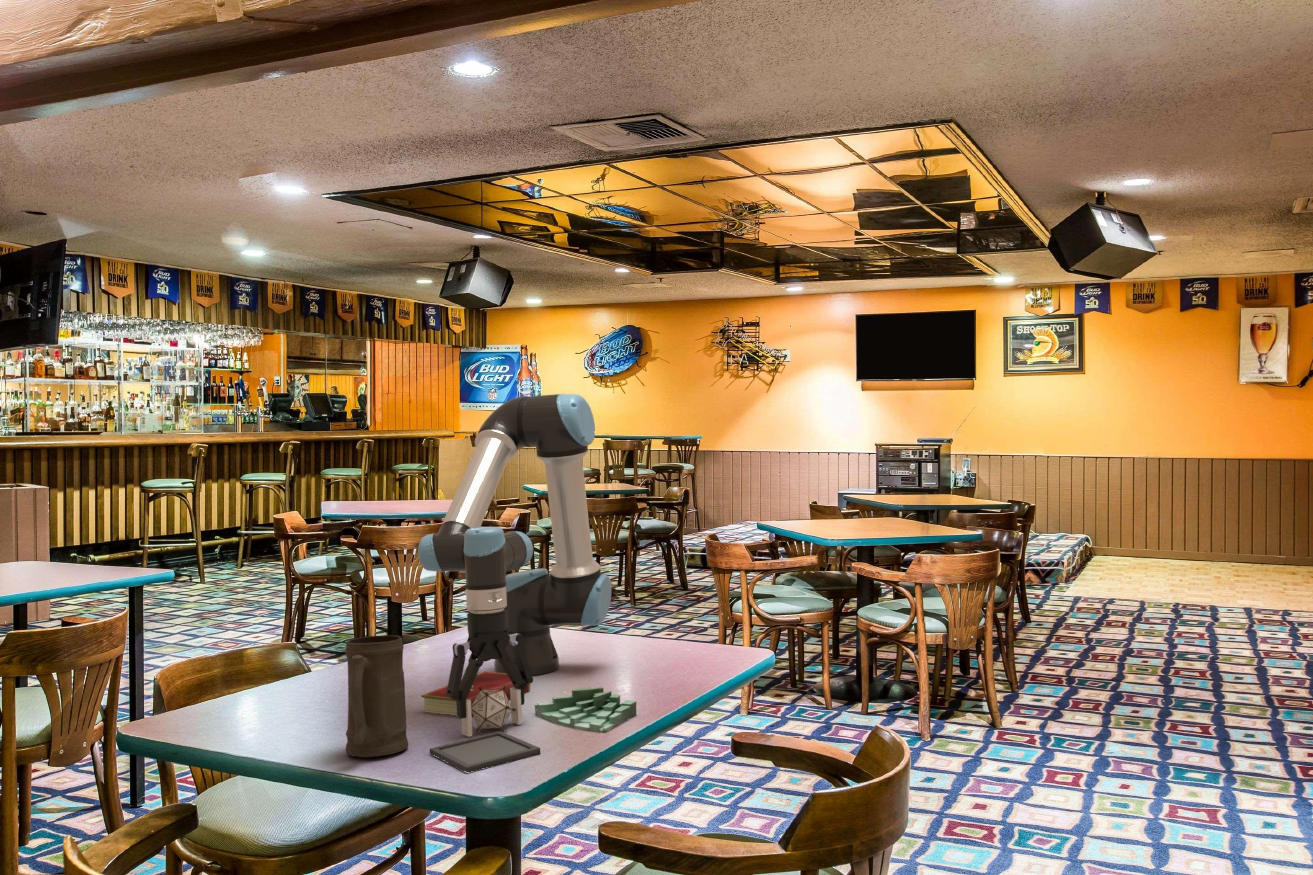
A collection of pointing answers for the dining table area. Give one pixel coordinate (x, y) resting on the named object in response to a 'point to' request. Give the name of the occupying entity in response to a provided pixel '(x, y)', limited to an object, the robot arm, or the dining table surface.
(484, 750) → the mat
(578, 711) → the green curved brick section
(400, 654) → the beer stein
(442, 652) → the dining table surface
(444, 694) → the hardcover book
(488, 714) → the game die
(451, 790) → the dining table surface
